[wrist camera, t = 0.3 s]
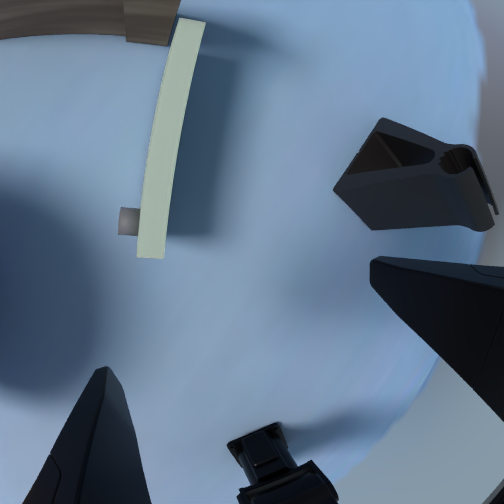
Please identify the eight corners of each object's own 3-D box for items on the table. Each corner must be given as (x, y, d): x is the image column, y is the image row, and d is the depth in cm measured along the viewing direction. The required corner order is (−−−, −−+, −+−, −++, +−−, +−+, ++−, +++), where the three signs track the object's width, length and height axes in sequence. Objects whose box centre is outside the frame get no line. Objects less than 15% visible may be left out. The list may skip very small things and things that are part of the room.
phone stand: (380, 117, 25) (492, 116, 14) (411, 160, 27) (513, 175, 17) (331, 190, 25) (447, 220, 14) (369, 229, 28) (472, 271, 17)
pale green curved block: (158, 236, 21) (163, 258, 16) (120, 233, 20) (115, 255, 15) (191, 50, 18) (205, 22, 13) (153, 44, 17) (158, 14, 12)
